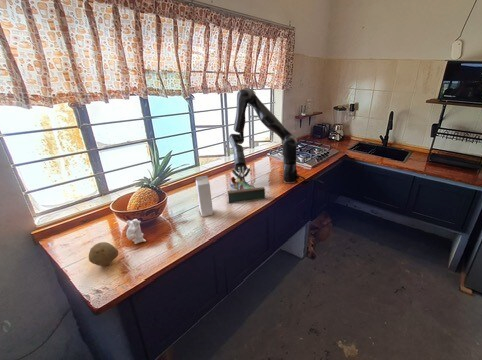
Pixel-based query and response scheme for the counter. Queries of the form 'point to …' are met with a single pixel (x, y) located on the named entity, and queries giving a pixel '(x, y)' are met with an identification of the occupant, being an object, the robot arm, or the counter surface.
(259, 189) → the shoe rail
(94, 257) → the brown rounded lump
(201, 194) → the milk
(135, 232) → the koala figurine
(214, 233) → the counter surface
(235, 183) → the sneaker
